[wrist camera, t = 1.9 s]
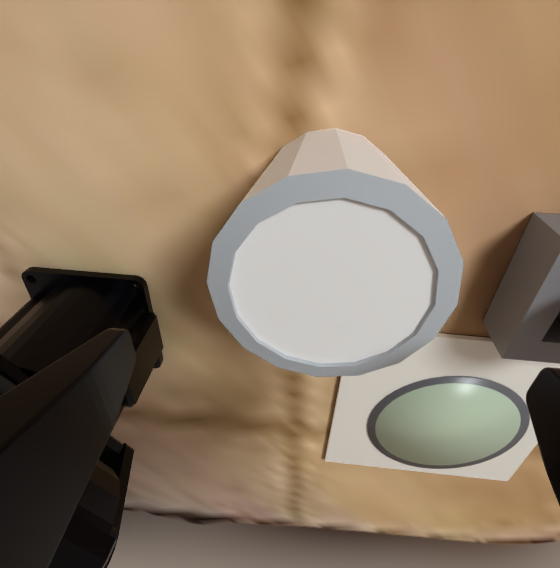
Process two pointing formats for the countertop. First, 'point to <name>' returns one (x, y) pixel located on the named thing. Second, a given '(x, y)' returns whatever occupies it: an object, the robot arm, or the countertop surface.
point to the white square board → (438, 412)
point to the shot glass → (334, 261)
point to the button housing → (530, 296)
